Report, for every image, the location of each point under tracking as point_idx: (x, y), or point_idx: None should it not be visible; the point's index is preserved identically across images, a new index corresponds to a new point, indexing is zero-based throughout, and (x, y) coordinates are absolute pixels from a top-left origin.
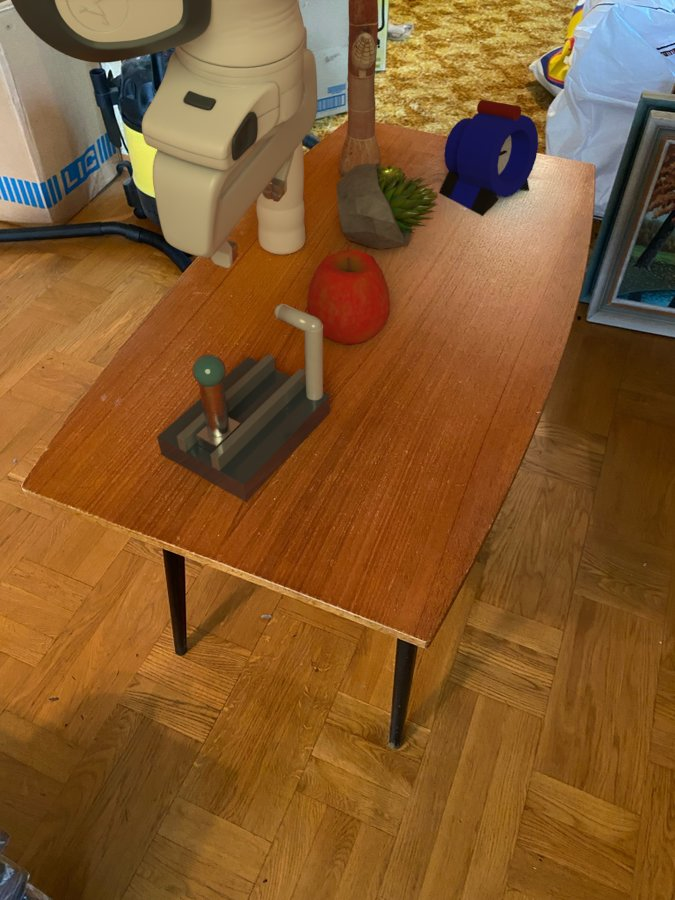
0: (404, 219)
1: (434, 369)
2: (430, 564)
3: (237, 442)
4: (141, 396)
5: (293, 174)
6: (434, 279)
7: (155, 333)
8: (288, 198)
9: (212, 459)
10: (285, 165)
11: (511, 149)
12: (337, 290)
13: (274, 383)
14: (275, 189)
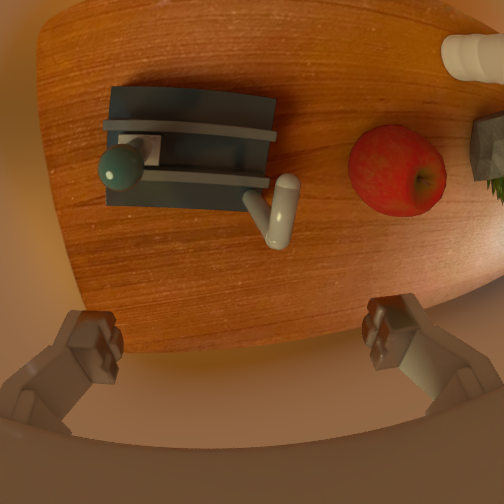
0: (494, 180)
1: (344, 259)
2: (149, 337)
3: None
4: (182, 15)
5: None
6: (447, 210)
7: None
8: (493, 73)
9: None
10: (429, 388)
11: None
12: (388, 181)
13: (248, 150)
14: (375, 350)
